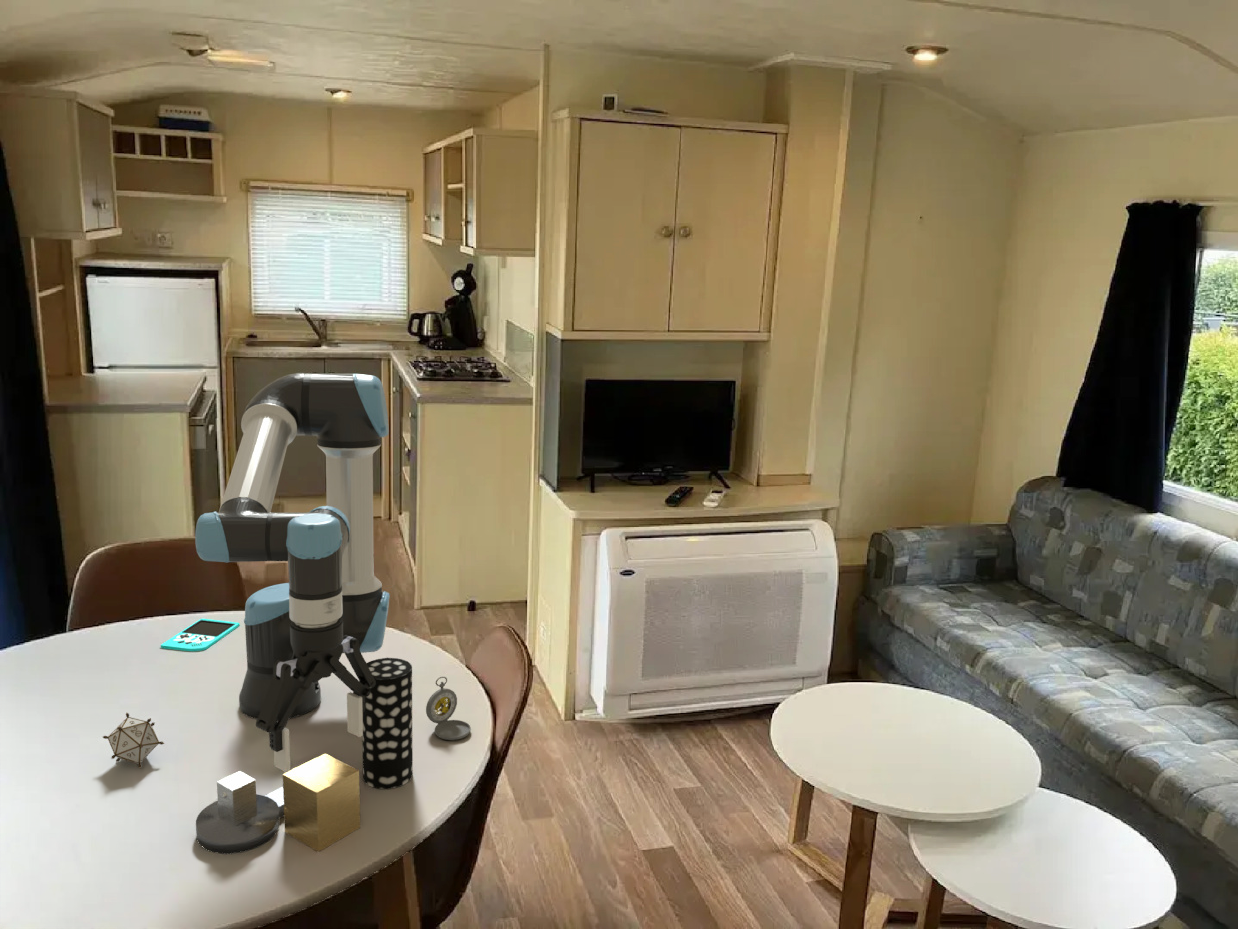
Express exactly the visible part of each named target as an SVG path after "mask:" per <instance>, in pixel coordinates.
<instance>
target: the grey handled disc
mask: <svg viewBox="0 0 1238 929" xmlns="http://www.w3.org/2000/svg"><path fill="white" fill-rule="evenodd" d="M256 782H257V781H256V779H255V778H253V777H251V776H250V775H248V774H246V773H245V772H243V771H241V770H239V771H236V772H234V773H232V774H230V775H228V776H225V777H224V778H221V779H220V780H217V781H216V793H217V800H216V801H213V802H212V803H210V804H209V805H207V806H205V807H204V808H203V809H202V810H201V811H200V812H199V813H198V815H197V817H196V819H195V829H196V830H195V831H196V832H195V833H196V841H197V840H198V841H197V843H198V842H199V843H198V845H199V844H200V845H201V846H203V847H204V848H205V849H204V848H203V847H202V848H203V849H204V850H206V849H207V850H206V851H208V850H209V851H208V852H211V851H212V852H211V853H215V852H218V853H217V854H222V855H223V854H224V853H225V854H227V853H228V854H229V855H230V853H231V854H238V853H239V854H240V853H244V852H248V851H250V850H254V849H256V848H259V847H261V846H264V845H265V844H266V843H267V842H269V841H270V840H272V838H274V837H275V836H276V835H277V833H278V831H279V829H280V825H281V824H280V819H281V818H282V817H284V796H283V786H280V787H279V788H277V789H275V790H273V791H270V792H269V793H267V794H265V795H262V794H257V785H256V784H257V783H256ZM200 845H199V846H200ZM201 846H200V847H201ZM225 854H224V855H225Z"/></svg>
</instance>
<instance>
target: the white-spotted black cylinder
mask: <svg viewBox="0 0 1238 929" xmlns="http://www.w3.org/2000/svg"><path fill="white" fill-rule="evenodd" d="M366 664H367V666H368V668H369V669H370V671H371V673H372V675H373V677H374V679H375V681H376V685H375V686H374V687H370V688H369V690H370V695H369V696H367V697H366V696H365V712H363V735H362V736H361V742H362V743H361V745H362V750H361V751H362V780H363V782H364V784H366V785H367V786H369V787H371V788H374V789H378V790H380V789H381V790H388V789H394V788H398V787H402V786H403V785H406V784H407V783H409V781H410V780H412V778H413V774H414V773H413V771H414V770H413V767H414V766H413V761H414V760H413V759H414V758H413V665H412V664H411V662H409V661H407V660H405V659H402V658H396V657H383V658H377V659H373V660H370V661H368V662H366Z"/></svg>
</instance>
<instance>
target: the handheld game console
mask: <svg viewBox="0 0 1238 929" xmlns="http://www.w3.org/2000/svg"><path fill="white" fill-rule="evenodd" d="M240 624H241V623H240V622H235V621H227V620H218V619H212V618H211V619H209V618H200V619H199V620H197V621H195V622H193V623H192V624H191V625H189V626H188V627H186V628H185V629H183V630H182V631H180V632H178V633H177V634H175V635H173V636H172V637H170V638H169V639H167V640H166V641H164V642H163V643H161V644H160V648H161V649H165V650H172V651H173V650H175V651H184V652H201V651H205V650H208V649H209V648H210V647H212V646H213V645H215V644H216V643H217V642H219V641H220V640H222V639H223V638H225V637H226V636H227V635H229V634H230V633H231V632H233V631H234V630H236V629H237V628H238V627H240Z"/></svg>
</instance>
